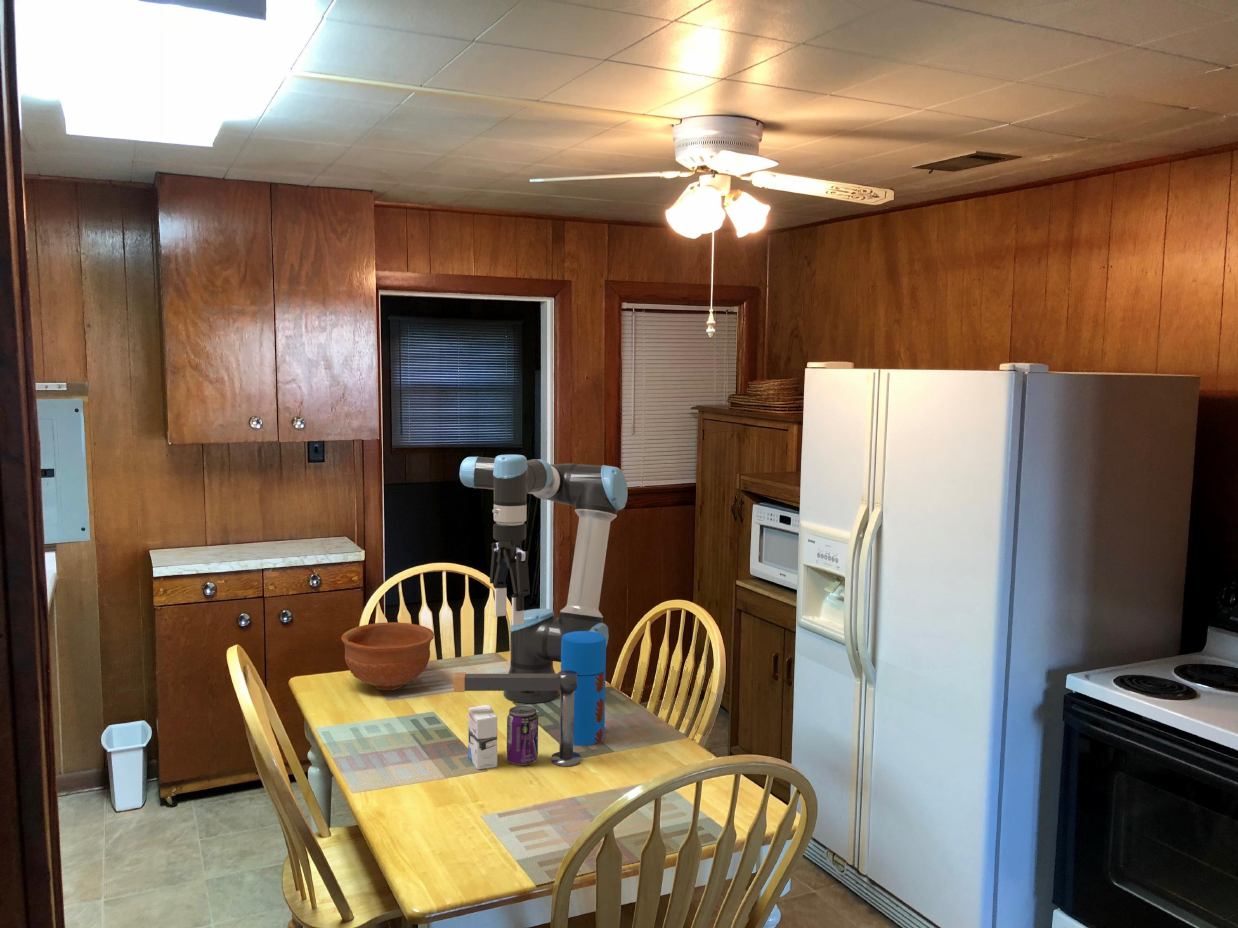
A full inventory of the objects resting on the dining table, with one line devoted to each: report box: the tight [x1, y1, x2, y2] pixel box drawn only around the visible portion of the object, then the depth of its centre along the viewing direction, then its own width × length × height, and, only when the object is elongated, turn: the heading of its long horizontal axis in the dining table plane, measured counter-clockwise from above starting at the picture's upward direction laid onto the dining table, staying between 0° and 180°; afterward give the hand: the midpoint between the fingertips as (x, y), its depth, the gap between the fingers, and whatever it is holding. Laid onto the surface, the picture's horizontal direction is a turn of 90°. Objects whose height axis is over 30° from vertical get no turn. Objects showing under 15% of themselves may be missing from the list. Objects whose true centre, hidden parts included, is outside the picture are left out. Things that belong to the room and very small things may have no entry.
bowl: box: [341, 621, 435, 691], centre depth 267 cm, size 25×25×15 cm
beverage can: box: [506, 705, 539, 766], centre depth 219 cm, size 7×7×12 cm
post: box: [550, 691, 582, 768], centre depth 219 cm, size 7×7×16 cm
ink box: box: [467, 704, 498, 770], centre depth 218 cm, size 8×5×12 cm, turn 23°
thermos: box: [560, 631, 607, 747], centre depth 233 cm, size 11×11×25 cm
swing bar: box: [453, 670, 577, 693], centre depth 217 cm, size 28×4×4 cm, turn 94°
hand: (508, 619), depth 222 cm, fingers open, 8 cm apart
